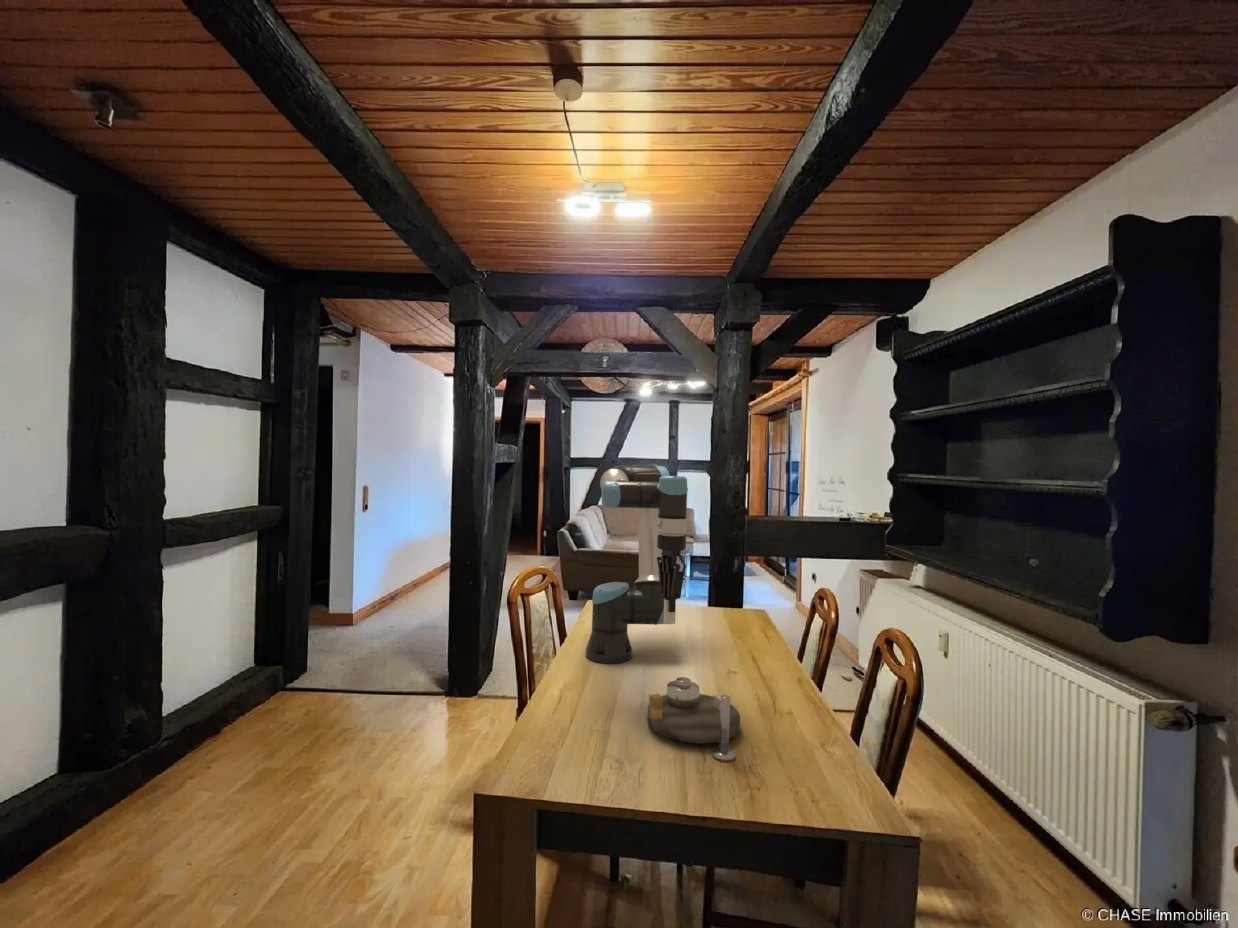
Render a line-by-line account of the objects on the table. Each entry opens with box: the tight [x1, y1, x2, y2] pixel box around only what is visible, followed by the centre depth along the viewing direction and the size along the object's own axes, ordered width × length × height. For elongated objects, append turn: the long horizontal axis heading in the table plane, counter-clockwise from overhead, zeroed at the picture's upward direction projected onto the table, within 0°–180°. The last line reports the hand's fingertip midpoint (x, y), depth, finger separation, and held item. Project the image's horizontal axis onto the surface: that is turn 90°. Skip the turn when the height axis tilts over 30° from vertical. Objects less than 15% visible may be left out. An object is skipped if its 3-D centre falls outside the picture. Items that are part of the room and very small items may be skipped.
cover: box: [666, 676, 700, 710], centre depth 138 cm, size 8×8×6 cm
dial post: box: [711, 693, 736, 763], centre depth 120 cm, size 6×5×13 cm
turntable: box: [646, 693, 741, 744], centre depth 133 cm, size 22×22×7 cm
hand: (669, 623), depth 147 cm, fingers closed
